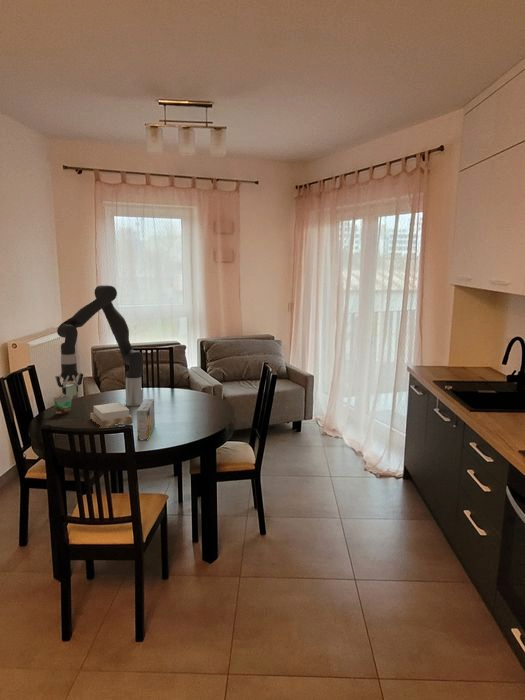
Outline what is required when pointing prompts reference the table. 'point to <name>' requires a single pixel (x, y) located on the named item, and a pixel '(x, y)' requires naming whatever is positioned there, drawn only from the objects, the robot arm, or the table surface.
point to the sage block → (71, 390)
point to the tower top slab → (111, 411)
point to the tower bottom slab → (110, 422)
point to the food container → (63, 404)
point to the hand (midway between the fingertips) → (70, 393)
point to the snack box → (145, 419)
